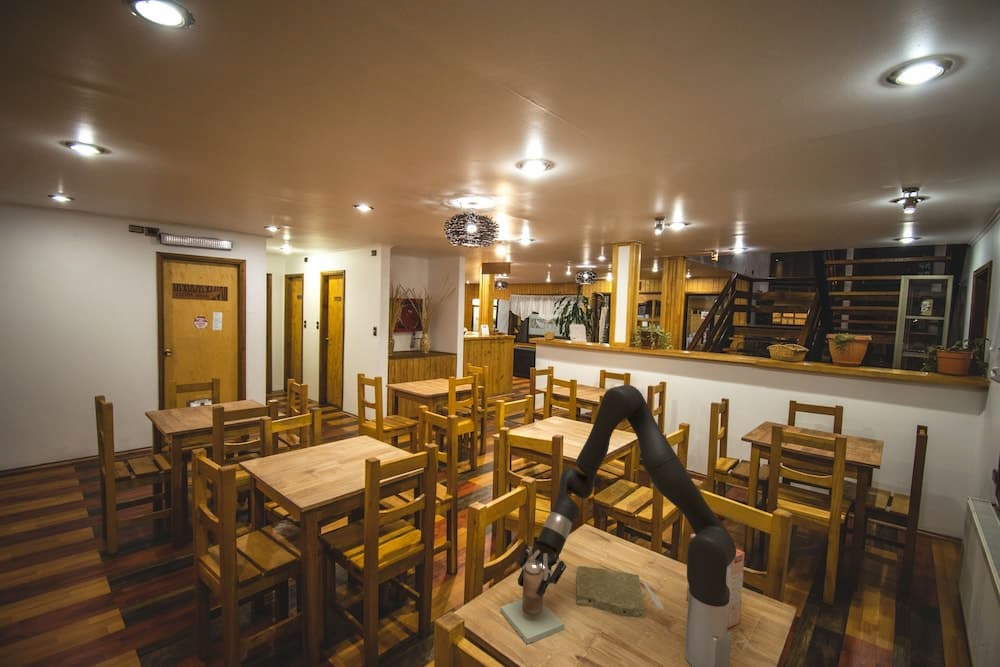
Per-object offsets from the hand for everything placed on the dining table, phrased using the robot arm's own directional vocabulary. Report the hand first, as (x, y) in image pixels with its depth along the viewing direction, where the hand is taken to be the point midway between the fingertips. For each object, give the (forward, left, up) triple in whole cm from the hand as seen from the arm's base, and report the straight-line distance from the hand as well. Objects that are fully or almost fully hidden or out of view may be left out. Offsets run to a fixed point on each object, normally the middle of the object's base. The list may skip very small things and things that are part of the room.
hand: (529, 590), depth 123 cm
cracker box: (-20, -52, -10) cm, 56 cm away
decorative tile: (0, -30, -10) cm, 31 cm away
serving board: (+1, -2, -10) cm, 10 cm away
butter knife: (-1, -44, -10) cm, 45 cm away
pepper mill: (+1, -2, -6) cm, 7 cm away
